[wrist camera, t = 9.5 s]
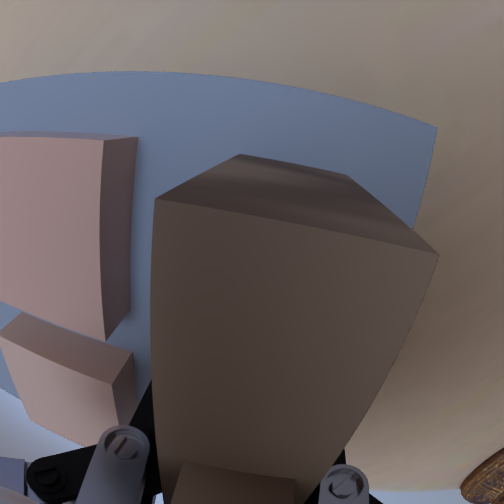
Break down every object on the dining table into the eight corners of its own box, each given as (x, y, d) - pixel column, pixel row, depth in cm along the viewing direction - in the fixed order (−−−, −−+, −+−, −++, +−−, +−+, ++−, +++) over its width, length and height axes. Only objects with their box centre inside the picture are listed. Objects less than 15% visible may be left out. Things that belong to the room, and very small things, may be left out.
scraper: (346, 174, 9) (547, 378, 1) (259, 464, 14) (239, 603, 6) (239, 153, 9) (15, 290, 1) (200, 453, 14) (162, 589, 7)
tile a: (138, 136, 9) (103, 140, 7) (130, 309, 11) (105, 341, 9) (8, 131, 9) (-30, 137, 7) (14, 273, 11) (-15, 293, 9)
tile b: (132, 351, 12) (111, 385, 10) (140, 435, 14) (127, 464, 12) (22, 311, 12) (-4, 334, 10) (47, 397, 14) (30, 420, 12)
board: (388, 126, 12) (437, 127, 8) (295, 421, 19) (294, 484, 14) (14, 91, 13) (-50, 94, 8) (32, 346, 20) (-5, 384, 15)
